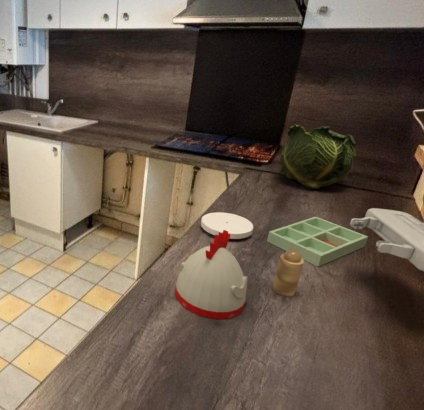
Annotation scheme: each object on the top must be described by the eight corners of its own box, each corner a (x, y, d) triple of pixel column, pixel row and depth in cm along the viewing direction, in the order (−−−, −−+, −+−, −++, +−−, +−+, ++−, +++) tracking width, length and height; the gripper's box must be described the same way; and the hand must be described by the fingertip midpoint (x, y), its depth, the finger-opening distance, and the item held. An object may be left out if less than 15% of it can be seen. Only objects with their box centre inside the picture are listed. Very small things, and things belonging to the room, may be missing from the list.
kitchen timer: (255, 297, 75) (270, 234, 69) (224, 329, 67) (238, 261, 61) (196, 270, 85) (205, 212, 79) (162, 295, 76) (169, 233, 70)
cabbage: (322, 194, 147) (348, 140, 142) (350, 203, 124) (382, 139, 118) (260, 174, 151) (283, 121, 146) (276, 179, 128) (305, 116, 123)
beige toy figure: (299, 292, 77) (311, 252, 73) (286, 299, 75) (297, 258, 71) (280, 282, 80) (291, 243, 76) (267, 287, 79) (277, 248, 75)
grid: (364, 246, 95) (368, 236, 94) (317, 266, 86) (321, 255, 85) (312, 225, 106) (315, 216, 105) (266, 241, 97) (269, 231, 96)
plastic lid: (223, 216, 112) (224, 208, 111) (262, 234, 101) (264, 226, 100) (190, 226, 106) (191, 218, 105) (228, 246, 95) (229, 238, 94)
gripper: (415, 203, 76) (343, 199, 79) (497, 253, 58) (401, 246, 60) (404, 229, 79) (335, 224, 81) (480, 285, 61) (388, 277, 63)
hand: (364, 234), depth 70 cm, fingers open, 8 cm apart
